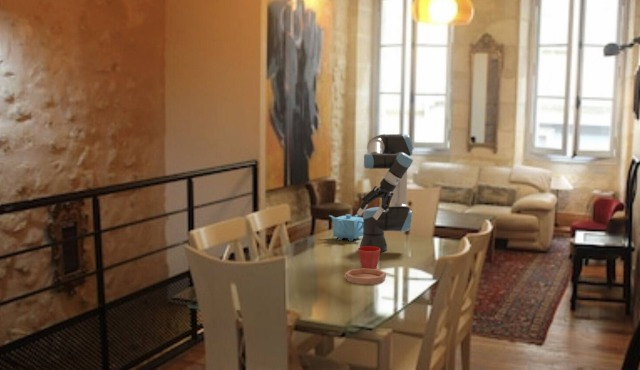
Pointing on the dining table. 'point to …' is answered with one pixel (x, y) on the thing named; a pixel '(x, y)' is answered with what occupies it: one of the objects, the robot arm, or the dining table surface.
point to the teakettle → (347, 227)
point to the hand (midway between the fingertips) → (366, 216)
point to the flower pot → (369, 256)
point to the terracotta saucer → (365, 276)
